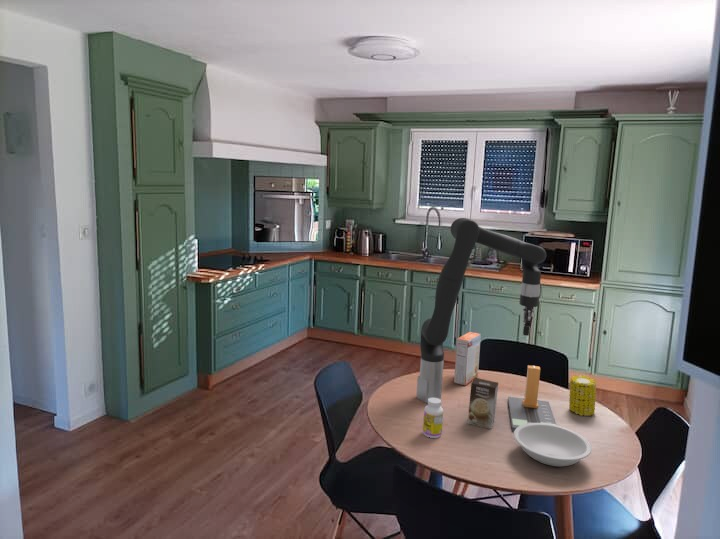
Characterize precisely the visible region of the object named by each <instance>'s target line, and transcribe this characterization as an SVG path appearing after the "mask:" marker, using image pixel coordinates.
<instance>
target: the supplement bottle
mask: <svg viewBox="0 0 720 539" xmlns="http://www.w3.org/2000/svg"><path fill="white" fill-rule="evenodd" d="M423 411H424V413H423V424H422V425H423V426H422V434H423V435H424V437H427V438H429V437H430V439H437V438H440V437H441V436H442V434H443V423H444V421H443V420H444V408H443V407H442V399H441V400H440V399H438V398H429V399H428V403H427V405H426V406H425V407H424V410H423Z"/></svg>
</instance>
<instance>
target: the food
mask: <svg viewBox="0 0 720 539" xmlns="http://www.w3.org/2000/svg"><path fill="white" fill-rule="evenodd" d="M569 383H570V384H569V394H568V395H569V398H568V399H569V410H570V411H571V412H572V413H575V414H576V415H579V416H582V417H583V416H584V417H587V416H592V415H594V414H595V410H596V399H597V398H596V397H597V395H596V393H597V392H596V391H597V388H596V387H597V383H596V380H595V379H593V378H591V377H590V376H586V375H584V374H583V375H580V374H579V375H574V376H571V377H570V381H569Z"/></svg>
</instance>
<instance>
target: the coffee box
mask: <svg viewBox="0 0 720 539" xmlns="http://www.w3.org/2000/svg"><path fill="white" fill-rule="evenodd" d="M470 383H471V384H470V385H471V386H470V393H469V394H470V395H469V403H468V404H469V406H468V416H467V424H468V425H473V426H478V427H481V428H485V429H489V430H492V428H493V426H494V423H495V418H496V409H497V398H498V389H499V388H498V387H499V382H498V381H497V382H496V381H492V380H488V379H484V378H479V377H477V378H474V380H473V381H471V382H470Z"/></svg>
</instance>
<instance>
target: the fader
mask: <svg viewBox="0 0 720 539" xmlns="http://www.w3.org/2000/svg"><path fill="white" fill-rule="evenodd" d="M526 369H527V370H526V371H527V372H526V379H525V391H524V400H522V403H523V407H531V408H538V403H537V400H538V396H539V386H540V376H541V367H540V366H537V365H529V364H528V365H527V368H526Z"/></svg>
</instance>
